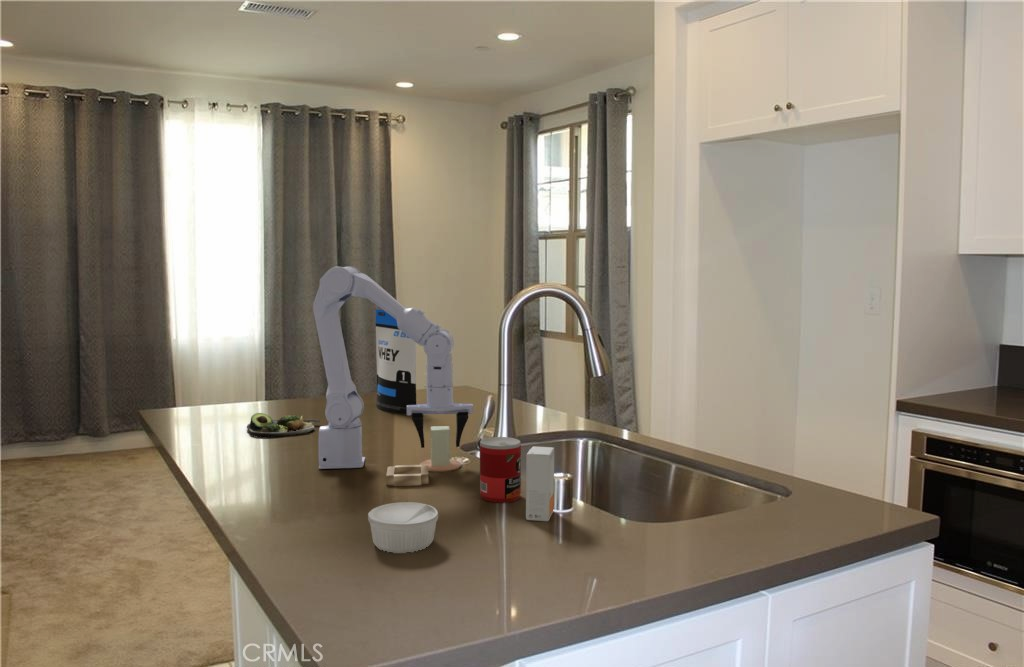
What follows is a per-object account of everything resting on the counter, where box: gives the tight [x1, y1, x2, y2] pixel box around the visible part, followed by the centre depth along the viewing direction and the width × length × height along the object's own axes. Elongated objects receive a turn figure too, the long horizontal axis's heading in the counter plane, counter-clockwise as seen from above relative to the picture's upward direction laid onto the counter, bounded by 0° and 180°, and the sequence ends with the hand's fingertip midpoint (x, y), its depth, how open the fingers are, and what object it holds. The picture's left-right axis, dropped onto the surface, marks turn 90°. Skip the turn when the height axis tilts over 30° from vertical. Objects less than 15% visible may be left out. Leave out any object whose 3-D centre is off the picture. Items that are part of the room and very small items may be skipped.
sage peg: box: [430, 425, 451, 466], centre depth 175 cm, size 4×4×8 cm
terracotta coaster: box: [419, 458, 462, 473], centre depth 175 cm, size 9×9×1 cm
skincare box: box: [525, 446, 555, 522], centre depth 141 cm, size 6×4×12 cm
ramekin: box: [367, 501, 439, 554], centre depth 128 cm, size 11×11×5 cm
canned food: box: [479, 436, 522, 504], centre depth 152 cm, size 8×8×11 cm
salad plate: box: [246, 412, 321, 438], centre depth 213 cm, size 19×18×5 cm
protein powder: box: [375, 308, 417, 415], centre depth 241 cm, size 10×24×30 cm, turn 38°
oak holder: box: [385, 464, 429, 487], centre depth 165 cm, size 8×8×2 cm
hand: (440, 446), depth 175 cm, fingers open, 7 cm apart
